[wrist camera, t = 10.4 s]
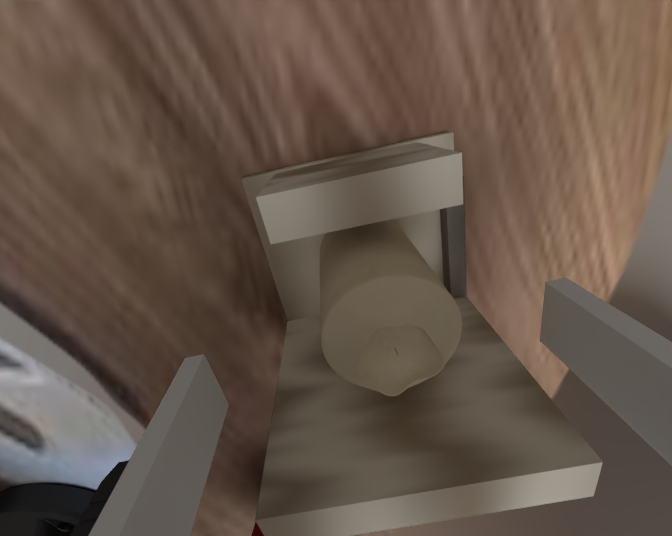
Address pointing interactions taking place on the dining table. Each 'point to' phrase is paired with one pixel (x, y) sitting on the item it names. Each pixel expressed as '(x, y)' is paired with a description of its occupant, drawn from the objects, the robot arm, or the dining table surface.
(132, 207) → the dining table surface
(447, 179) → the beige u-shaped bracket
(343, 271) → the candle
